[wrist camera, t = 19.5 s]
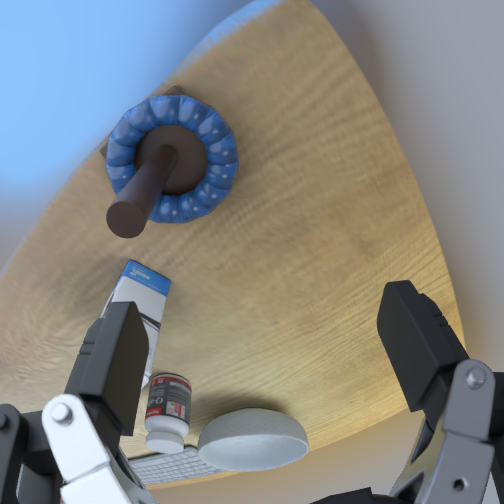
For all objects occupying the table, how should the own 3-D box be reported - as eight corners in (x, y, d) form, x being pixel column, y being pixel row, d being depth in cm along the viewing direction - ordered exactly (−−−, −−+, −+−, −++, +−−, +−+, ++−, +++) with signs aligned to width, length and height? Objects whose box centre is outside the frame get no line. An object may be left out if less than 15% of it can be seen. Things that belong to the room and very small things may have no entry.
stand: (178, 84, 22) (131, 98, 11) (237, 161, 26) (243, 235, 15) (105, 146, 24) (27, 209, 13) (163, 213, 28) (128, 309, 17)
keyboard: (191, 443, 52) (190, 454, 50) (232, 460, 58) (232, 470, 56) (80, 466, 64) (78, 473, 62) (115, 481, 69) (114, 488, 67)
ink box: (129, 256, 30) (93, 348, 20) (173, 280, 32) (154, 376, 22) (101, 309, 33) (70, 394, 23) (139, 328, 35) (119, 416, 25)
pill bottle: (158, 367, 39) (149, 433, 30) (198, 380, 41) (195, 445, 32) (146, 387, 41) (136, 447, 33) (182, 399, 43) (178, 458, 35)
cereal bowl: (178, 421, 47) (176, 458, 41) (243, 378, 41) (246, 423, 35) (256, 446, 54) (258, 478, 48) (323, 410, 48) (331, 446, 42)
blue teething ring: (182, 66, 20) (177, 66, 18) (263, 169, 25) (266, 178, 23) (88, 151, 23) (77, 159, 21) (167, 237, 27) (163, 251, 26)
